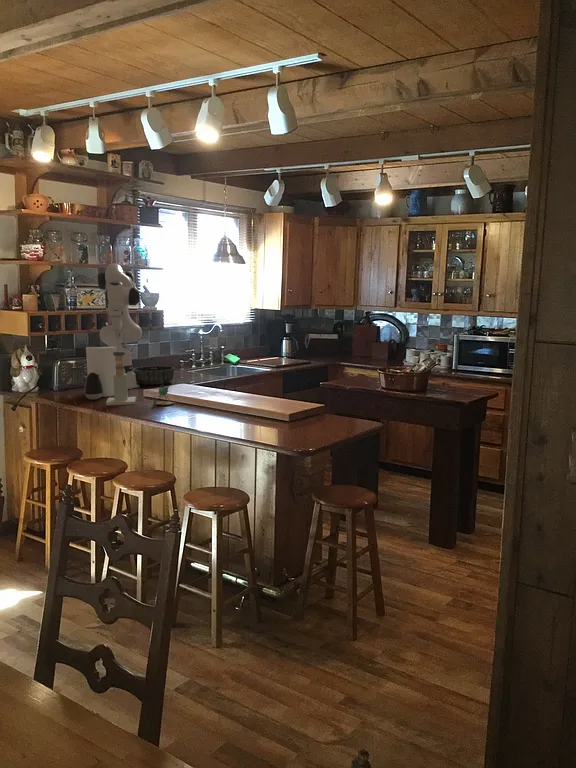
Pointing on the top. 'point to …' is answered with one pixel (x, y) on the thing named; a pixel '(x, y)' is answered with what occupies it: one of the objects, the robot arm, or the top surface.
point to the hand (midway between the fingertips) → (118, 337)
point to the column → (119, 362)
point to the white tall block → (102, 366)
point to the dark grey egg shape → (93, 387)
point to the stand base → (120, 392)
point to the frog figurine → (163, 392)
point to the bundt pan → (154, 374)
